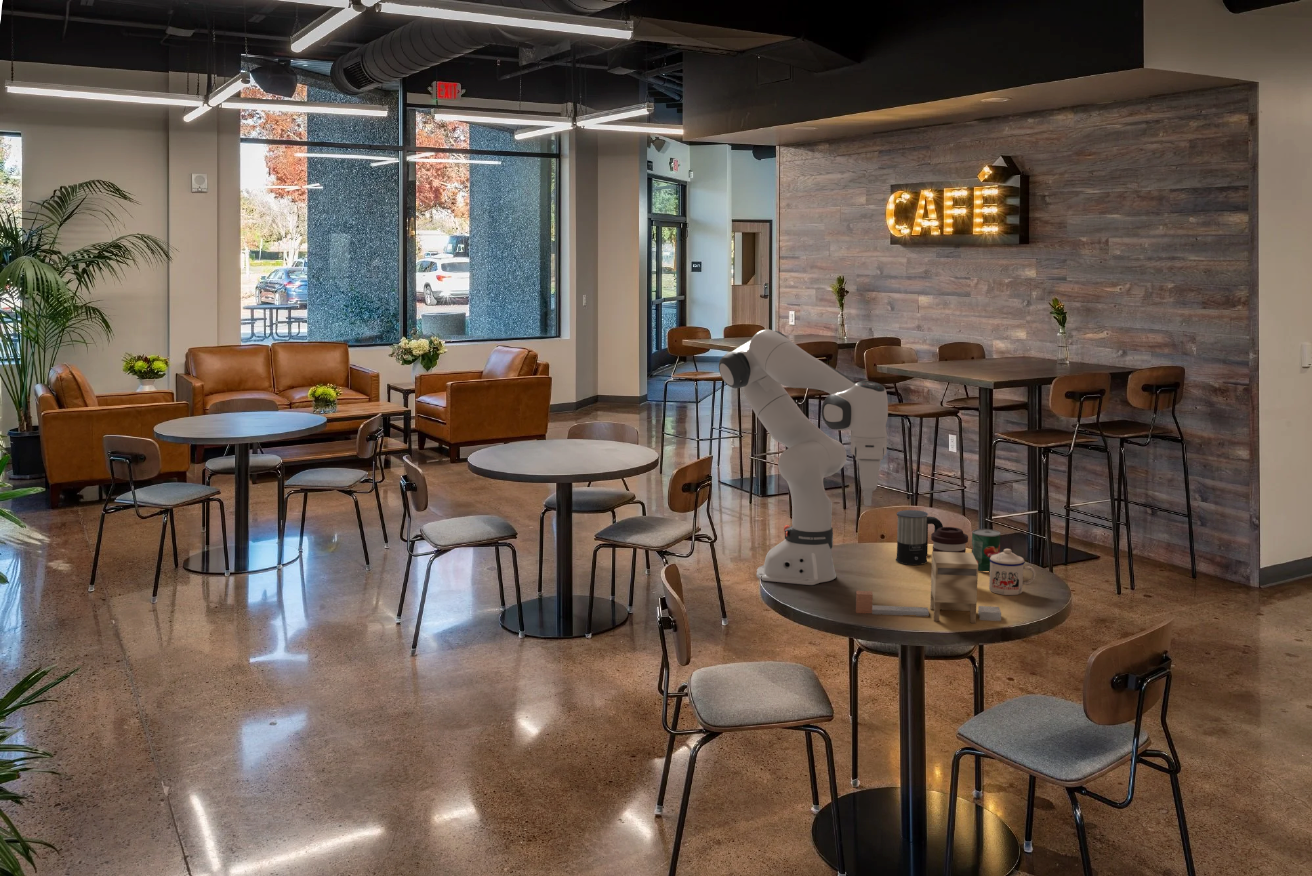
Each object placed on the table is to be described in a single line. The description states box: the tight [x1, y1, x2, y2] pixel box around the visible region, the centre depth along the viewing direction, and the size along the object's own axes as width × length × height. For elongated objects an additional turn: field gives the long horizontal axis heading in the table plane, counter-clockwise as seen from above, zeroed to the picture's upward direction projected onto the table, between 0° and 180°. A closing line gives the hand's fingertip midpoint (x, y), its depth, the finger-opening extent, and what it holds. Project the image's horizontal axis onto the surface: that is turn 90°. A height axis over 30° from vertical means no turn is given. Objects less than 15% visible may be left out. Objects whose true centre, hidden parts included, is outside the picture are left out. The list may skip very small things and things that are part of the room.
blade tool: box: [855, 590, 930, 617], centre depth 280 cm, size 18×4×5 cm, turn 81°
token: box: [977, 605, 1002, 622], centre depth 277 cm, size 5×5×2 cm
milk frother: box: [895, 509, 944, 566], centre depth 332 cm, size 14×16×15 cm
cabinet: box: [929, 550, 979, 624], centre depth 277 cm, size 10×11×15 cm
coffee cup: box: [930, 526, 969, 553], centre depth 307 cm, size 10×10×15 cm
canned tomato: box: [971, 528, 1002, 572], centre depth 320 cm, size 8×8×11 cm
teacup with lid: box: [988, 548, 1037, 596], centre depth 298 cm, size 12×9×12 cm
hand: (866, 501), depth 277 cm, fingers open, 8 cm apart
